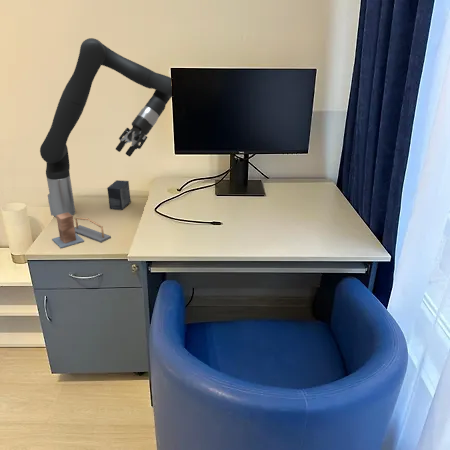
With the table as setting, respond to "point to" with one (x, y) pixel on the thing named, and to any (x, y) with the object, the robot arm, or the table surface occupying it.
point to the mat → (62, 244)
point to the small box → (119, 195)
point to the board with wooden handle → (91, 231)
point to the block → (66, 227)
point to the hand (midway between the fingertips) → (122, 152)
